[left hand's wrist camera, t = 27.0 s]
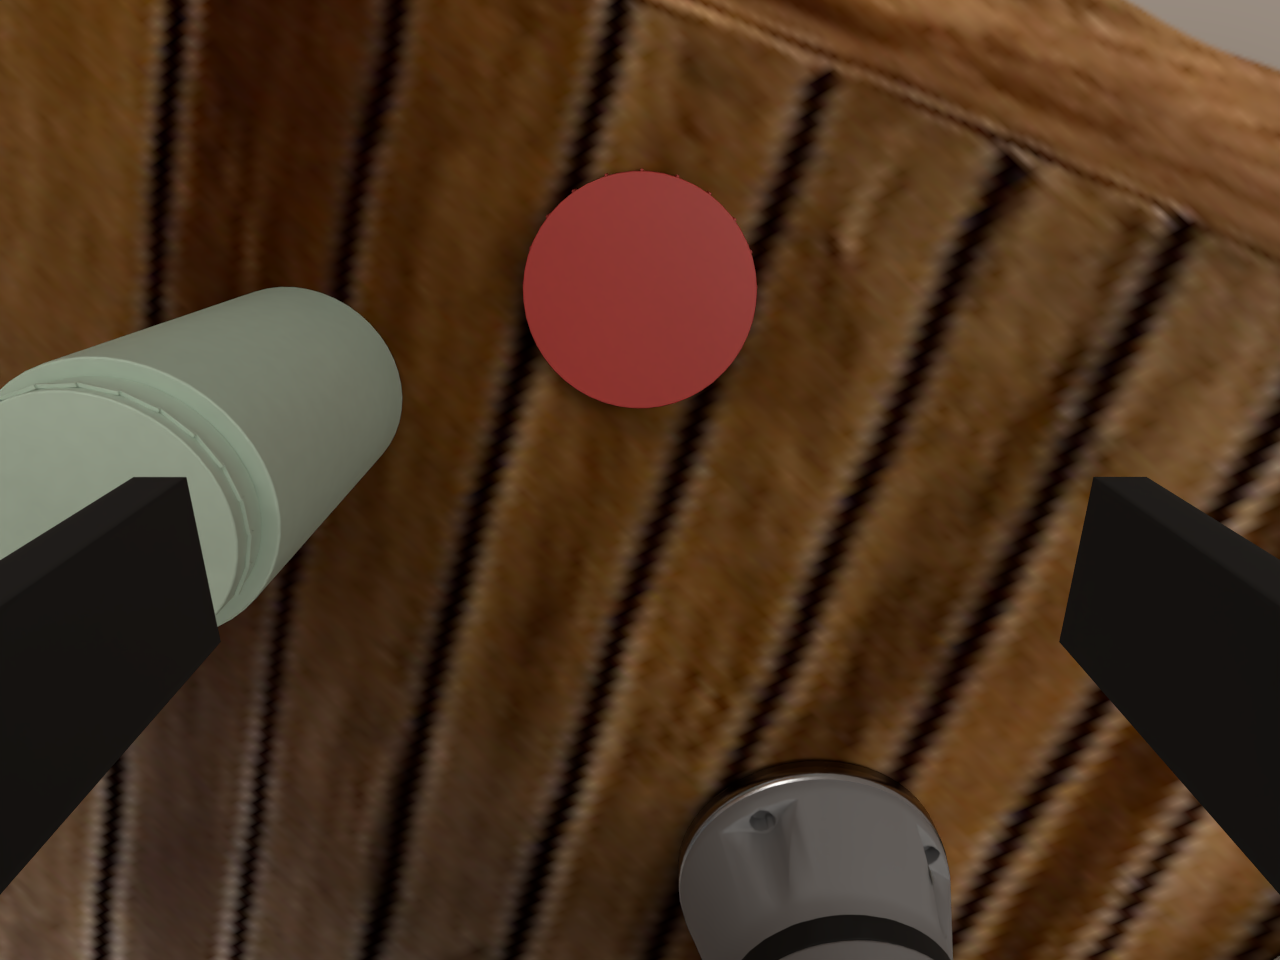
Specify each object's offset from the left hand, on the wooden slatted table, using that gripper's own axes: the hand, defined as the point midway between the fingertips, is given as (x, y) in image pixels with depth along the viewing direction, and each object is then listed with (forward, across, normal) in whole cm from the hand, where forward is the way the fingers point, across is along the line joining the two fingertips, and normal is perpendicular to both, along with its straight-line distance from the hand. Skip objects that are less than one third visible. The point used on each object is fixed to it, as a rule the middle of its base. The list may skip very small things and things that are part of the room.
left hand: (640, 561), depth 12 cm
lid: (+25, 0, 0) cm, 25 cm away
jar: (+27, +16, +4) cm, 31 cm away
